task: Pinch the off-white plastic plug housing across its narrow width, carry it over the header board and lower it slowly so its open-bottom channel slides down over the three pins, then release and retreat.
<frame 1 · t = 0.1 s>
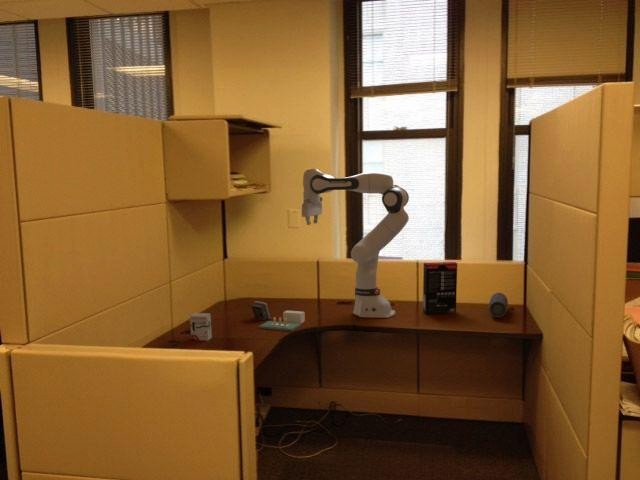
hand: (312, 224, 315), 48 cm above the table, fingers open, 8 cm apart
graphics card box: (439, 313, 307), on the table
electrical switch: (261, 319, 302), on the table
housing: (294, 321, 295), on the table
bluetooth speaker: (498, 315, 300), on the table
header board: (280, 327, 285), on the table
ink box: (201, 339, 267), on the table
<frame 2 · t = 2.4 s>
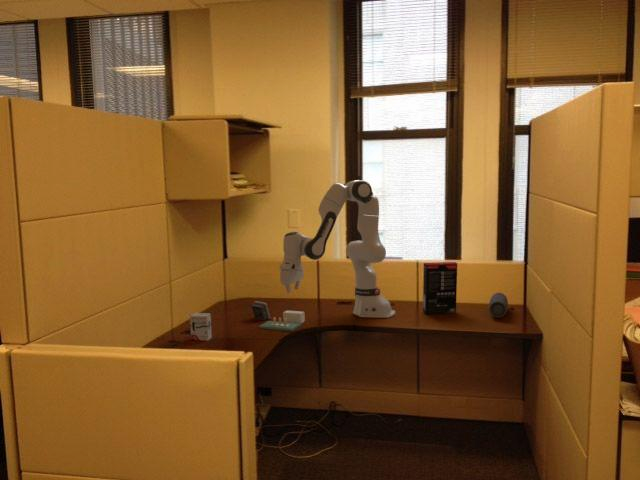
hand: (292, 290, 293), 16 cm above the table, fingers open, 8 cm apart
nothing on the table moved.
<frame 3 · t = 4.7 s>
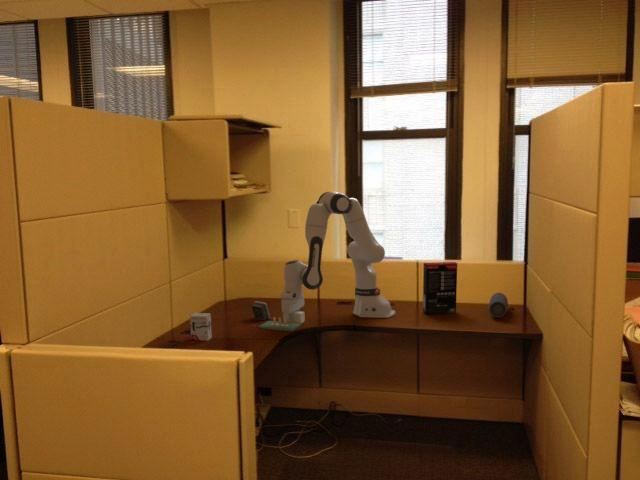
hand: (294, 318, 295), 2 cm above the table, fingers closed on housing, 5 cm apart
housing: (294, 321, 295), on the table, touching gripper
everything else where it was.
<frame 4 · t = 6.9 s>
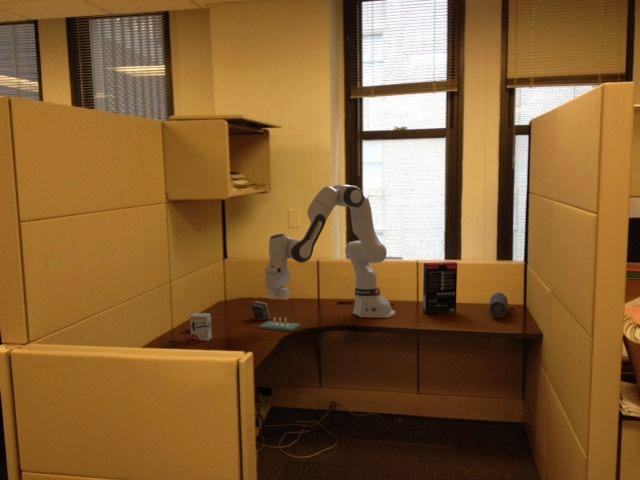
hand: (279, 294, 283), 16 cm above the table, fingers closed on housing, 5 cm apart
housing: (278, 298, 283), point 15 cm above the table, touching gripper
everything else where it was.
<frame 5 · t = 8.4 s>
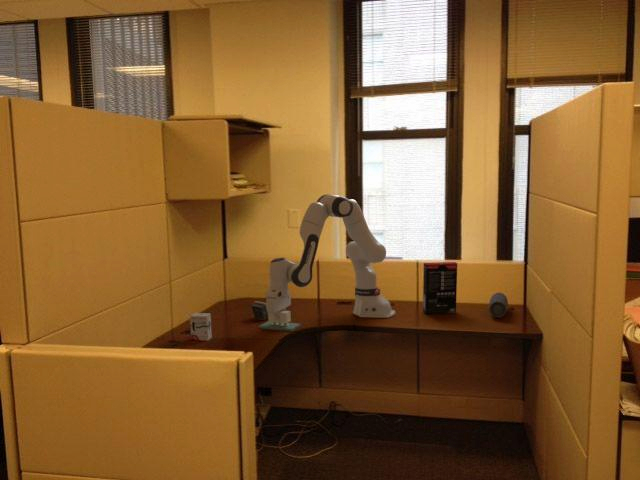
hand: (279, 318, 284), 5 cm above the table, fingers closed on housing, 5 cm apart
housing: (279, 321, 284), point 3 cm above the table, touching gripper
everything else where it was.
when the fingers open (3 cm above the table, at t = 9.4 s): housing stays where it is, resting on header board.
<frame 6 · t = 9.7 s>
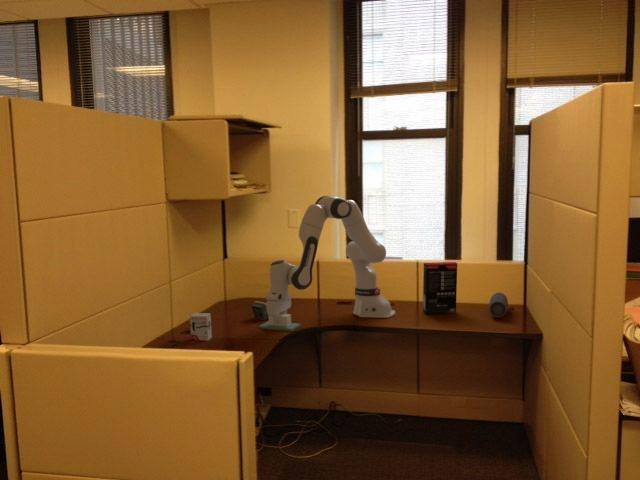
hand: (280, 320, 284), 3 cm above the table, fingers open, 7 cm apart
housing: (280, 324, 285), point 1 cm above the table, touching header board
everything else where it was.
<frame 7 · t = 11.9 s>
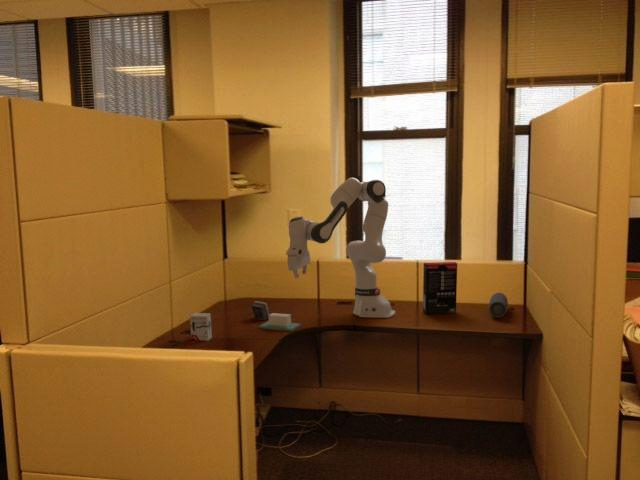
hand: (300, 275, 292), 24 cm above the table, fingers open, 8 cm apart
nothing on the table moved.
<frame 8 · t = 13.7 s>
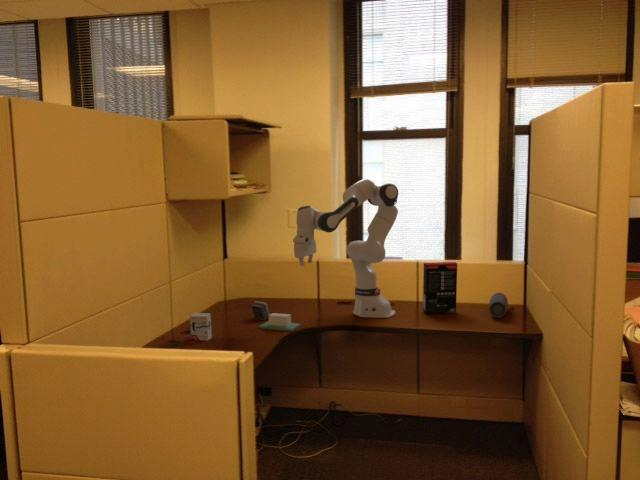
hand: (306, 264, 295), 29 cm above the table, fingers open, 8 cm apart
nothing on the table moved.
at the end: housing 0.0 cm off-centre on the header board, point 1.3 cm above the header board's base; housing tilted 0°; the gripper is holding nothing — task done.
